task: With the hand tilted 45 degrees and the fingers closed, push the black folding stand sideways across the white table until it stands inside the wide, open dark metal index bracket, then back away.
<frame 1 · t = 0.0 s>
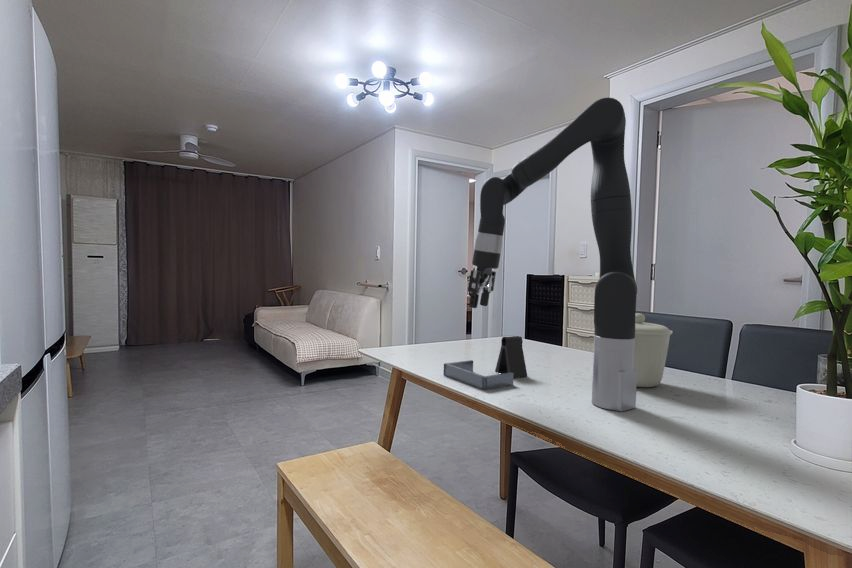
hand: (478, 306, 123), 22 cm above the table, tool pointing down, fingers open, 8 cm apart
index bracket: (477, 379, 129), on the table
canister: (635, 383, 129), on the table
black folding stand: (510, 374, 137), on the table
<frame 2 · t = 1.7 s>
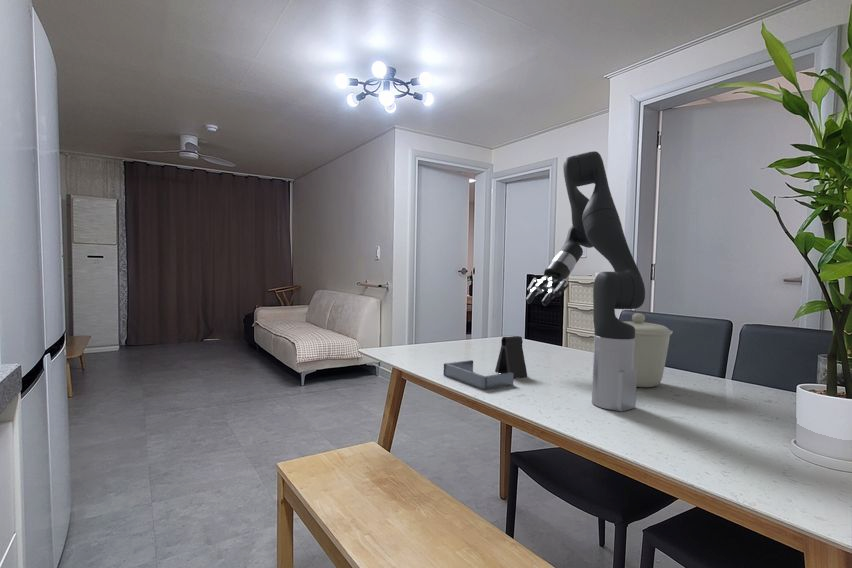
hand: (535, 303, 141), 22 cm above the table, tool tilted 45°, fingers open, 6 cm apart
nothing on the table moved.
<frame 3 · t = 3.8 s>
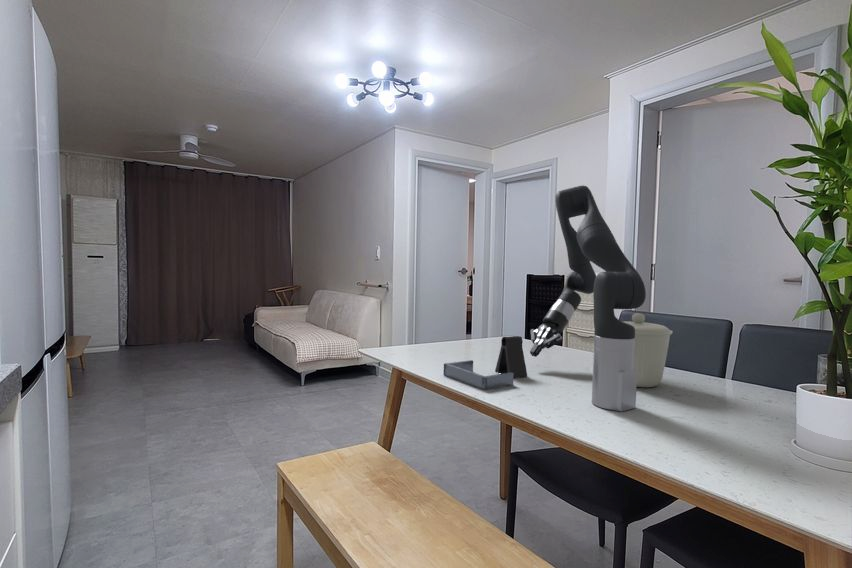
hand: (532, 354, 142), 5 cm above the table, tool tilted 45°, fingers closed
nothing on the table moved.
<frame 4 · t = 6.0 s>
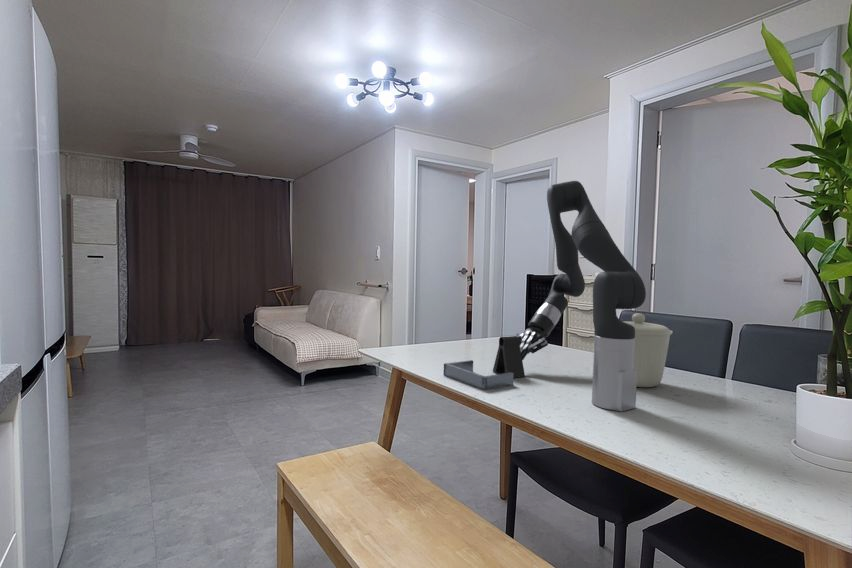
hand: (517, 360, 138), 4 cm above the table, tool tilted 45°, fingers closed
black folding stand: (508, 375, 136), on the table, touching gripper
everything else where it was.
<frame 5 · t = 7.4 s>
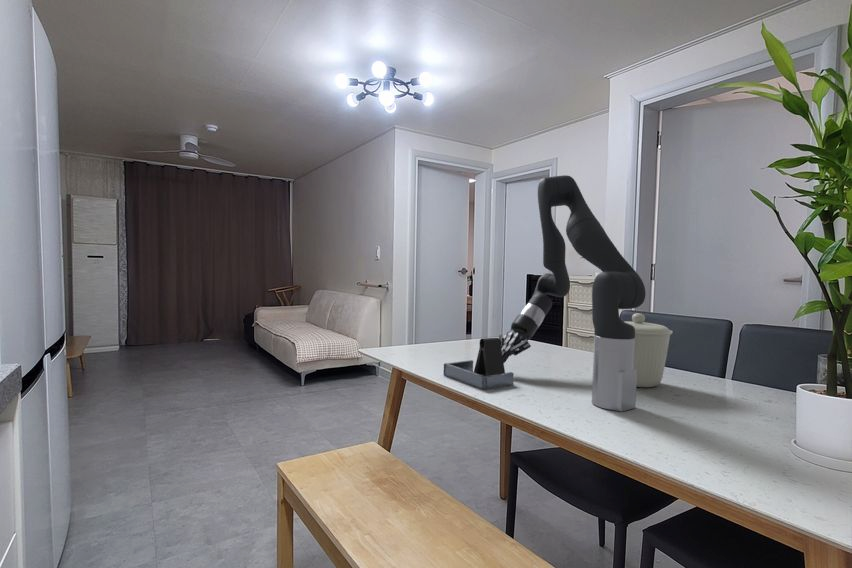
hand: (499, 362, 134), 4 cm above the table, tool tilted 45°, fingers closed
black folding stand: (489, 377, 132), on the table, touching gripper
everything else where it was.
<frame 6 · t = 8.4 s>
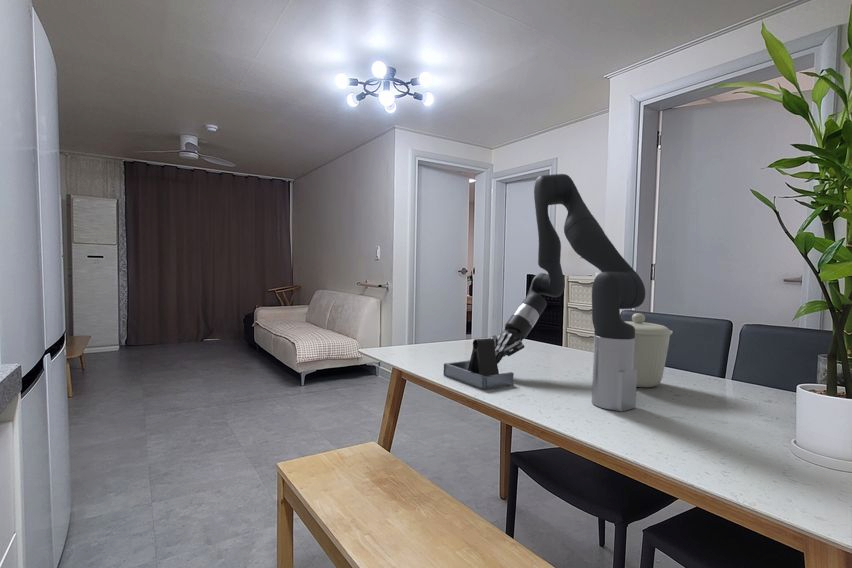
hand: (492, 363, 132), 4 cm above the table, tool tilted 45°, fingers closed
black folding stand: (483, 378, 131), on the table, touching gripper
everything else where it was.
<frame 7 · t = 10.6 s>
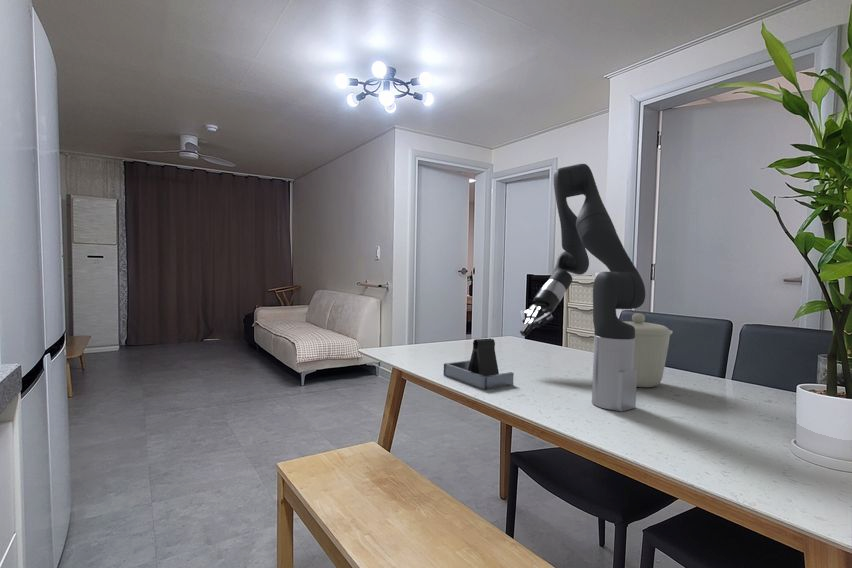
hand: (522, 334, 138), 12 cm above the table, tool tilted 45°, fingers closed
black folding stand: (482, 379, 131), on the table
everything else where it was.
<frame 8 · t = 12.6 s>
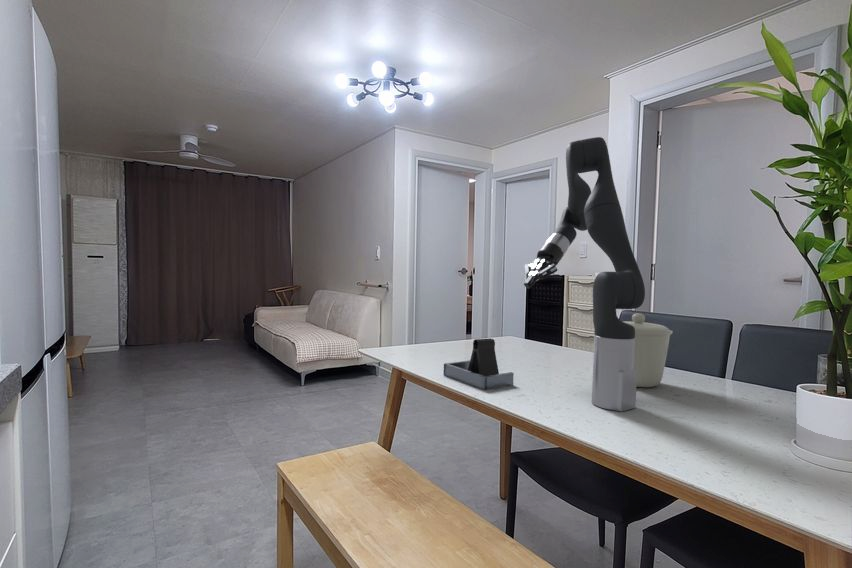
hand: (526, 286, 139), 28 cm above the table, tool tilted 45°, fingers closed
nothing on the table moved.
at the end: black folding stand inside the target area (2.4 cm from its centre), on the table; black folding stand tilted 0°; the gripper is holding nothing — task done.
